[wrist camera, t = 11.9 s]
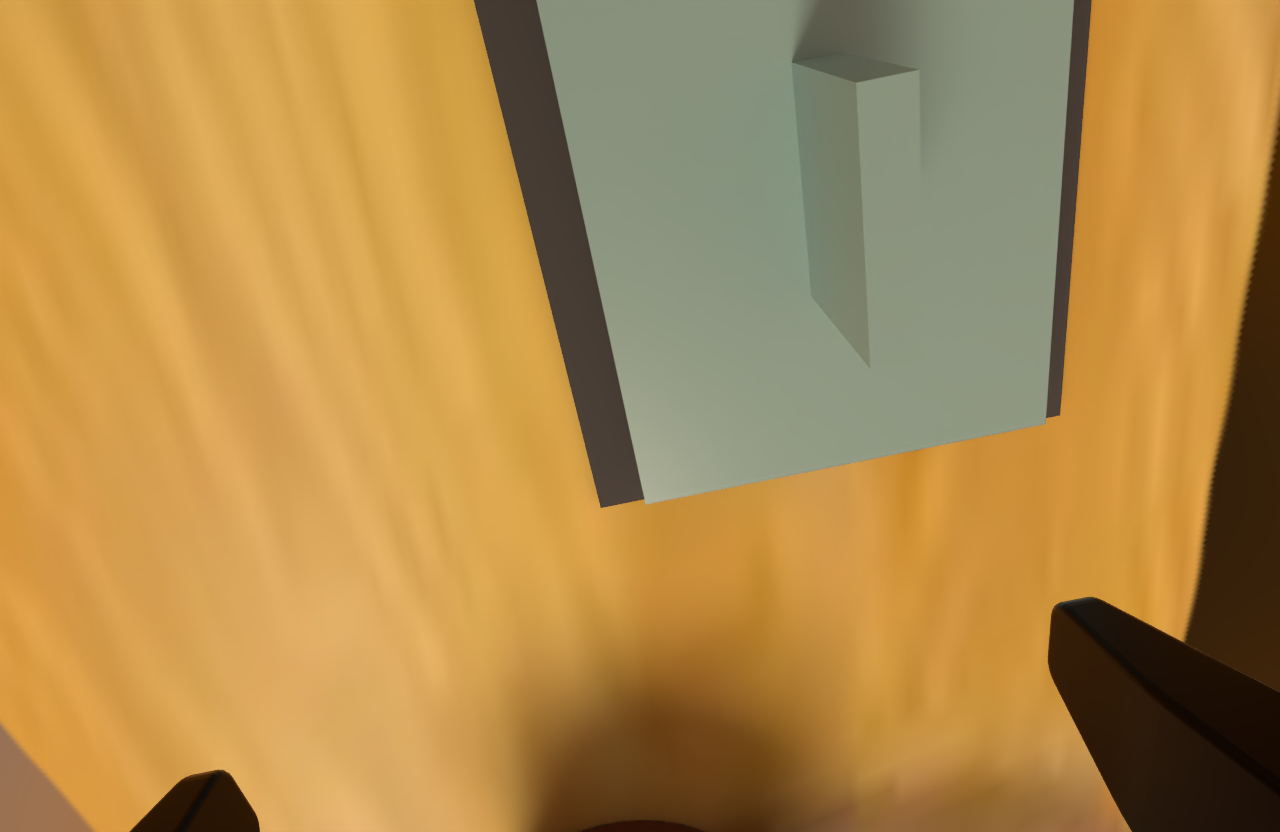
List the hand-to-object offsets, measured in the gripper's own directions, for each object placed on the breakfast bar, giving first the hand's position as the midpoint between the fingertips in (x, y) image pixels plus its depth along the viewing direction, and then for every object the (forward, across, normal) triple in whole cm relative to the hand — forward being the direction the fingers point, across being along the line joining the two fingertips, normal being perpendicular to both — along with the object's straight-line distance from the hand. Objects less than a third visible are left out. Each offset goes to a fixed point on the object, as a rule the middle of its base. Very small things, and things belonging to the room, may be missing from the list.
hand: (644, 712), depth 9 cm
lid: (+13, -5, -2) cm, 14 cm away
